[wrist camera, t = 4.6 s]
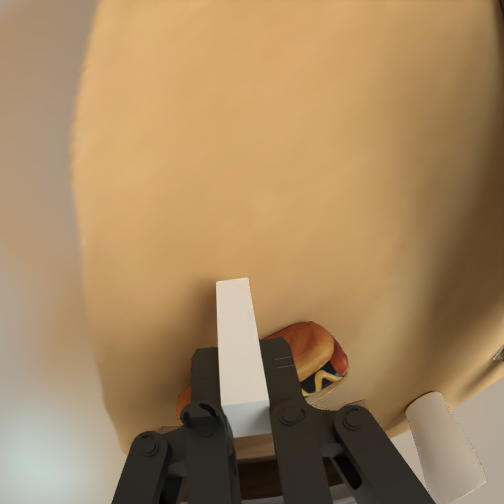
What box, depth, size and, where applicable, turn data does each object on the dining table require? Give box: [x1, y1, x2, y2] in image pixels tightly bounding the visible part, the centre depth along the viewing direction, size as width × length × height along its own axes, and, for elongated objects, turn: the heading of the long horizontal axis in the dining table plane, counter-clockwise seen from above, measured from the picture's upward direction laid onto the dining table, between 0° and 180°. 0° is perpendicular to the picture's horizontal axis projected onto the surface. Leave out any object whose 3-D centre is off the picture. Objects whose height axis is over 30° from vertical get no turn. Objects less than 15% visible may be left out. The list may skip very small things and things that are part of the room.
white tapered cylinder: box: [405, 391, 487, 504], centre depth 24 cm, size 7×7×15 cm
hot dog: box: [177, 321, 349, 426], centre depth 19 cm, size 5×13×5 cm, turn 127°
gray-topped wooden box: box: [161, 400, 368, 504], centre depth 26 cm, size 12×21×10 cm, turn 96°
